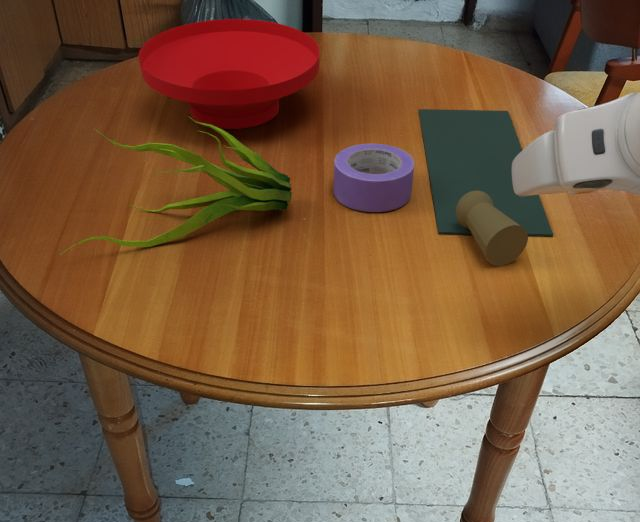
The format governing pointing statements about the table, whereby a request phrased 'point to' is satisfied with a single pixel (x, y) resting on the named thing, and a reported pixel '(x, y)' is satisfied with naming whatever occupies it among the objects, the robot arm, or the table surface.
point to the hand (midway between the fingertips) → (579, 186)
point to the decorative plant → (244, 185)
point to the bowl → (230, 68)
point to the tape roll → (373, 177)
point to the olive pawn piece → (491, 228)
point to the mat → (476, 167)
